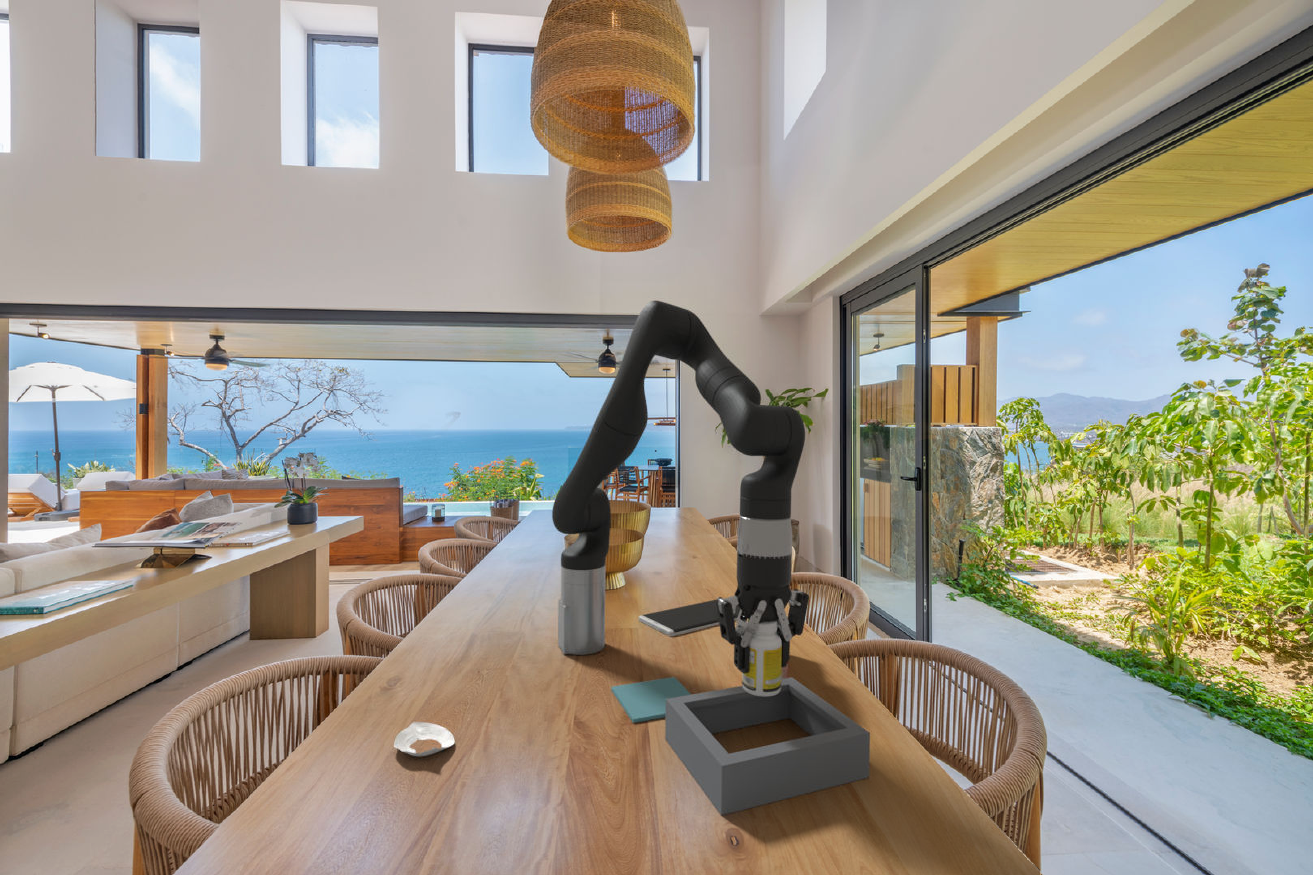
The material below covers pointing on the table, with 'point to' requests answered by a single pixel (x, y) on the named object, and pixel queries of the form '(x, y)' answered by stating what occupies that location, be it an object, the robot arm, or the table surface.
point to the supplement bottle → (764, 661)
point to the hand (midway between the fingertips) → (761, 667)
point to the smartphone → (685, 618)
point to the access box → (769, 769)
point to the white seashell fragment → (423, 737)
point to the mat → (648, 697)
